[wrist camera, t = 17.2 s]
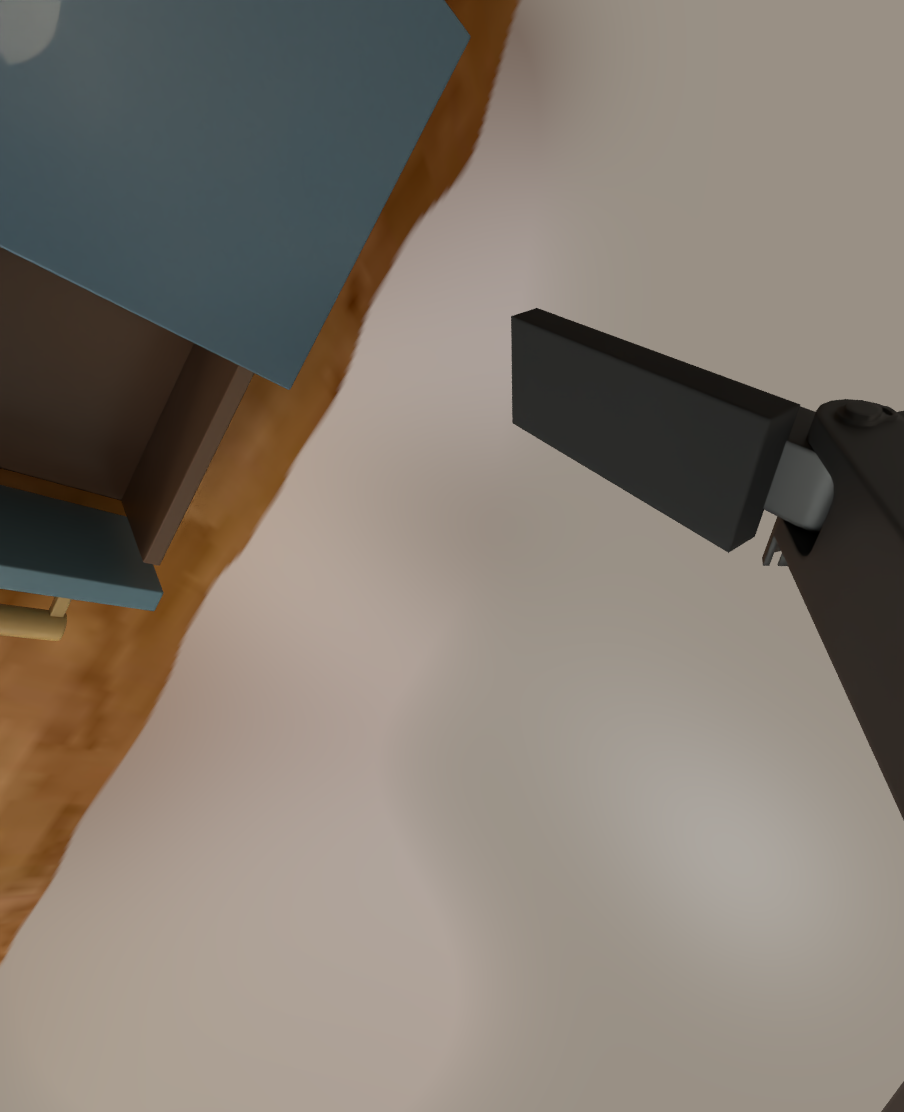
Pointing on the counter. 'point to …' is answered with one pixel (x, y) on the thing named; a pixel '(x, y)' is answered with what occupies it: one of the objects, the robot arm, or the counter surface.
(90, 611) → the counter surface
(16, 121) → the cabinet
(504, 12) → the counter surface
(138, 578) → the drawer
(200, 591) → the counter surface
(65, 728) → the counter surface
